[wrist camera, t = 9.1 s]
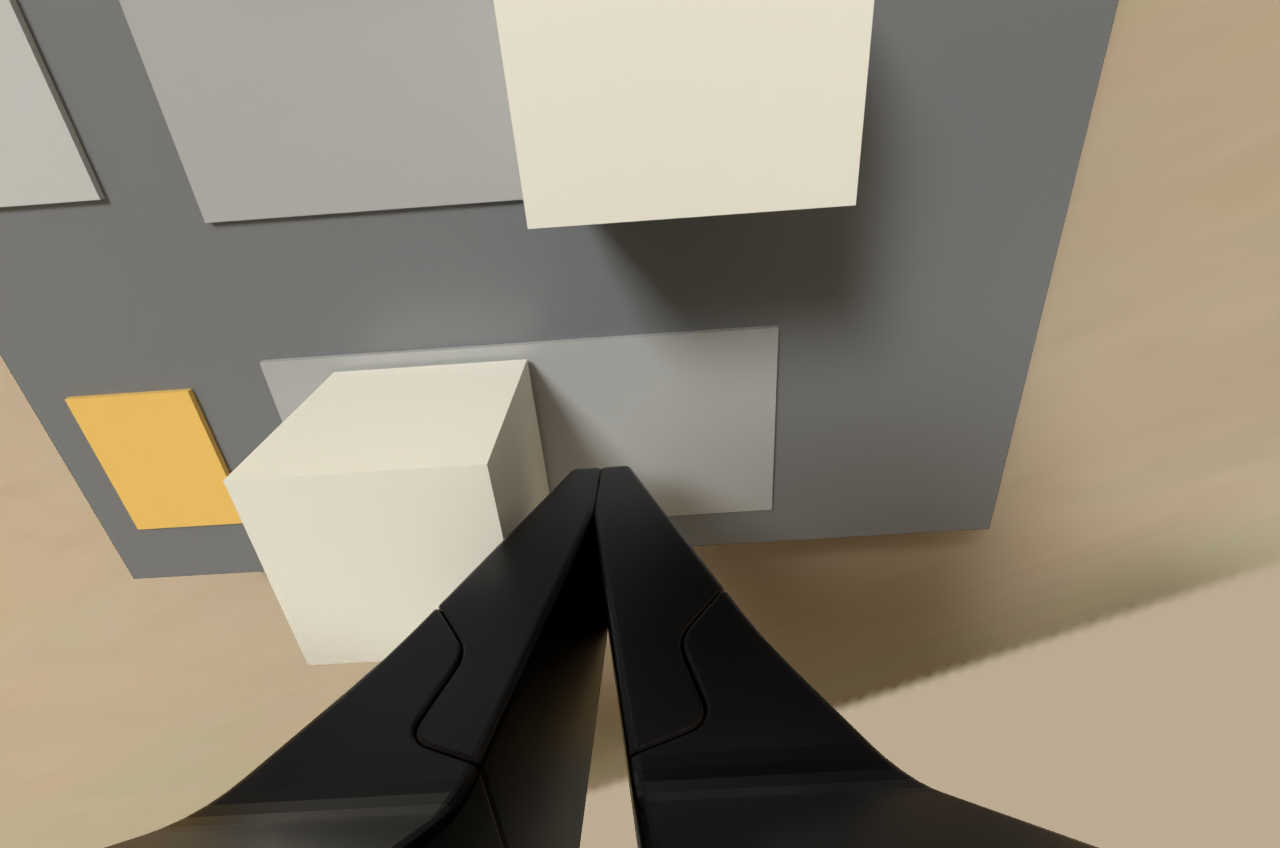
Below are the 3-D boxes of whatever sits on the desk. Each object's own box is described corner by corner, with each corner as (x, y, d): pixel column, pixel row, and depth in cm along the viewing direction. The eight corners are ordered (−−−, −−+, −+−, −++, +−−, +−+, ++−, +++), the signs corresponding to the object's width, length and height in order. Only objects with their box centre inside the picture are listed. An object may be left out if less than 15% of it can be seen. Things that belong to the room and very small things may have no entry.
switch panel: (1229, -1037, 6) (1517, -1577, 4) (942, 469, 13) (992, 532, 11) (-473, -827, 6) (-956, -1222, 4) (198, 515, 14) (130, 582, 12)
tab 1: (526, 359, 10) (487, 464, 7) (554, 517, 11) (528, 652, 8) (333, 372, 10) (223, 480, 7) (385, 527, 11) (308, 664, 9)
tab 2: (797, -128, 7) (898, -254, 4) (786, 164, 8) (856, 205, 6) (526, -104, 7) (461, -214, 4) (560, 182, 8) (527, 229, 6)
